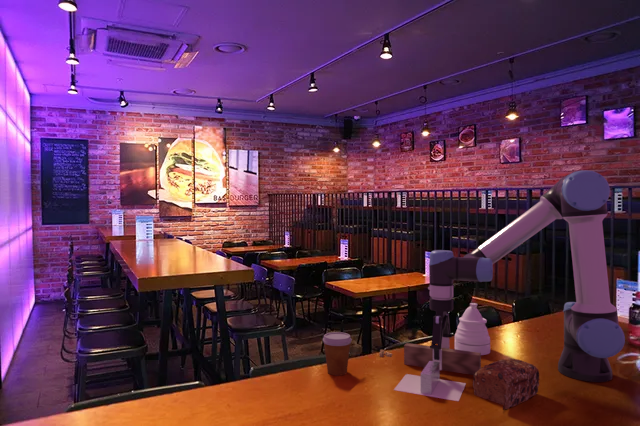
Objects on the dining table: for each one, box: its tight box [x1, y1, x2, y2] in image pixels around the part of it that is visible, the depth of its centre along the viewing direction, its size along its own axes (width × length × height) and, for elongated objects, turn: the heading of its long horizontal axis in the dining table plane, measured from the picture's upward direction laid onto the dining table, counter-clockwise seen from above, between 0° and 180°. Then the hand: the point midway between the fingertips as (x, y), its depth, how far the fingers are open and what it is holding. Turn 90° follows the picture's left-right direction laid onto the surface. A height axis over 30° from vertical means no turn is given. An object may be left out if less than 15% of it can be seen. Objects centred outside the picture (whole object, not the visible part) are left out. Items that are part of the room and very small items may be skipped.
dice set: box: [379, 349, 393, 358], centre depth 163 cm, size 5×5×2 cm
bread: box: [472, 358, 540, 411], centre depth 127 cm, size 19×11×10 cm, turn 128°
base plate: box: [393, 373, 467, 402], centre depth 130 cm, size 18×14×2 cm
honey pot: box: [454, 302, 491, 356], centre depth 170 cm, size 13×13×18 cm
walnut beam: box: [403, 342, 482, 376], centre depth 146 cm, size 24×3×8 cm, turn 63°
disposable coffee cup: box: [322, 331, 353, 376], centre depth 147 cm, size 10×10×12 cm
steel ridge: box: [420, 361, 441, 395], centre depth 130 cm, size 3×12×6 cm, turn 154°
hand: (441, 362), depth 146 cm, fingers open, 13 cm apart
